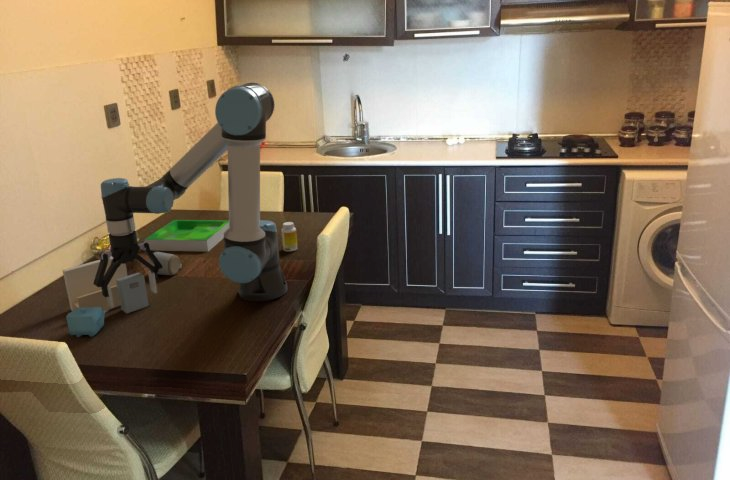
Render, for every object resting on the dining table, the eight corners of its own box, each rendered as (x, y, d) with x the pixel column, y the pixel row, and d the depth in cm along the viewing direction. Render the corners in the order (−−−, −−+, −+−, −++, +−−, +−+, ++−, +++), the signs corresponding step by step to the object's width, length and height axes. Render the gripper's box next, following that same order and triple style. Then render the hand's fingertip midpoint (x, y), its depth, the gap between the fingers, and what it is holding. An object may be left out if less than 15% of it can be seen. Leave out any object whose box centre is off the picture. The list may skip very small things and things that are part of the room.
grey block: (149, 306, 189) (144, 276, 186) (127, 314, 184) (122, 283, 181) (143, 302, 192) (138, 272, 188) (121, 310, 187) (115, 279, 184)
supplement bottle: (300, 249, 232) (298, 223, 229) (288, 253, 229) (285, 226, 226) (292, 245, 236) (290, 220, 233) (280, 249, 233) (277, 223, 230)
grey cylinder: (171, 278, 209) (168, 257, 207) (150, 277, 212) (146, 255, 209) (188, 268, 219) (185, 247, 217) (167, 266, 221) (164, 245, 219)
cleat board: (140, 299, 194) (133, 260, 190) (82, 318, 183) (73, 277, 178) (128, 291, 200) (121, 253, 196) (70, 309, 189) (62, 269, 185)
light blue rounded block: (116, 326, 177) (112, 302, 174) (108, 337, 171) (103, 312, 168) (75, 328, 177) (69, 304, 174) (65, 338, 171) (59, 313, 169)
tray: (208, 252, 234) (206, 240, 233) (146, 251, 238) (144, 239, 237) (232, 231, 258) (230, 220, 256) (175, 231, 262) (174, 219, 260)
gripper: (156, 219, 191) (165, 283, 198) (73, 239, 175) (86, 308, 182) (167, 224, 186) (177, 289, 193) (83, 245, 170) (96, 315, 177)
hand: (133, 298), depth 187 cm, fingers open, 13 cm apart
